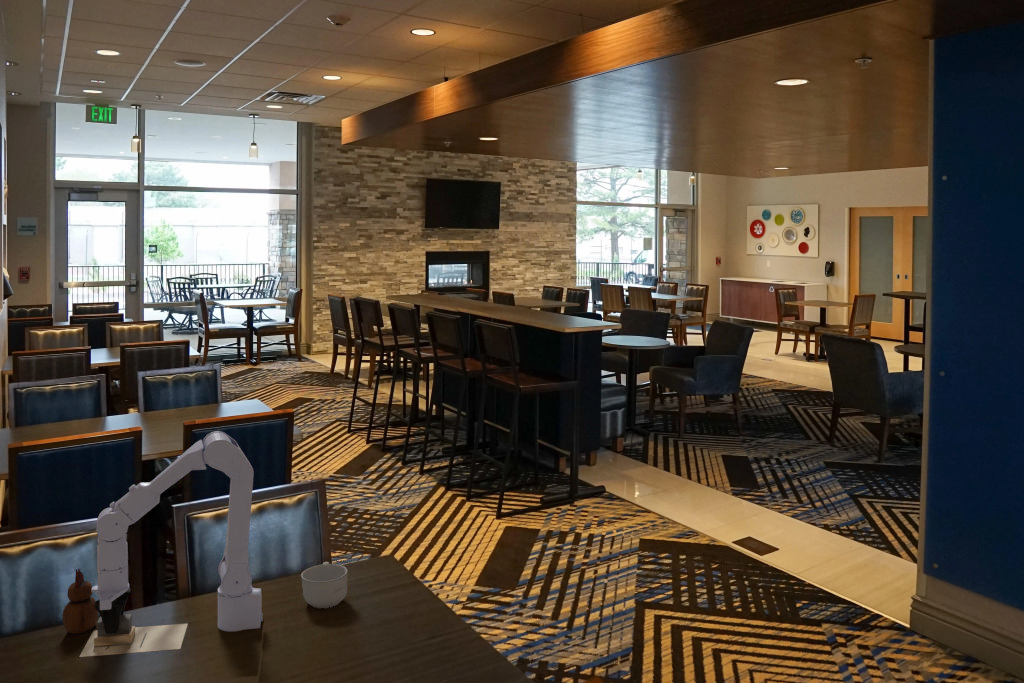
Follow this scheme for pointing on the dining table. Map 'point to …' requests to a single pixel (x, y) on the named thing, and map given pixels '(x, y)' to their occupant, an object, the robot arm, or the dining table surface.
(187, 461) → the robot arm
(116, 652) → the board
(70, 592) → the wooden figurine
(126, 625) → the block
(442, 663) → the dining table surface
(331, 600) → the teacup
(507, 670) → the dining table surface
